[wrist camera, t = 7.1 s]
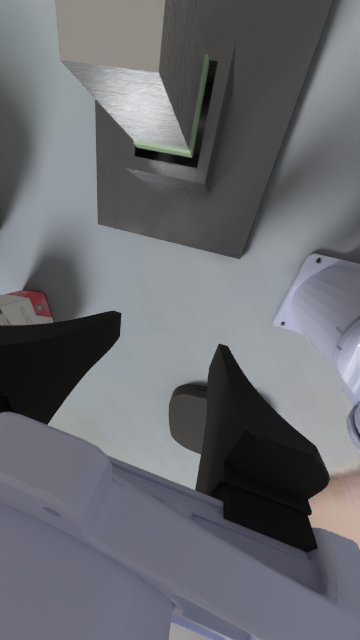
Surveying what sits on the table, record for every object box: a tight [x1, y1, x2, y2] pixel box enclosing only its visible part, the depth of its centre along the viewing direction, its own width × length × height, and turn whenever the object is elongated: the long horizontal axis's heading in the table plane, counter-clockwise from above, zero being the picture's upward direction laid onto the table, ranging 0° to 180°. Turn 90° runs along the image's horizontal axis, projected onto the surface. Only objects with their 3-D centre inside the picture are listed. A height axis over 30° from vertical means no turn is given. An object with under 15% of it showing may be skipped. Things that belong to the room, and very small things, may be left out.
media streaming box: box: [169, 385, 207, 454], centre depth 28 cm, size 15×15×3 cm
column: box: [55, 0, 209, 158], centre depth 8 cm, size 4×4×7 cm
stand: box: [95, 0, 333, 259], centre depth 13 cm, size 16×16×5 cm
